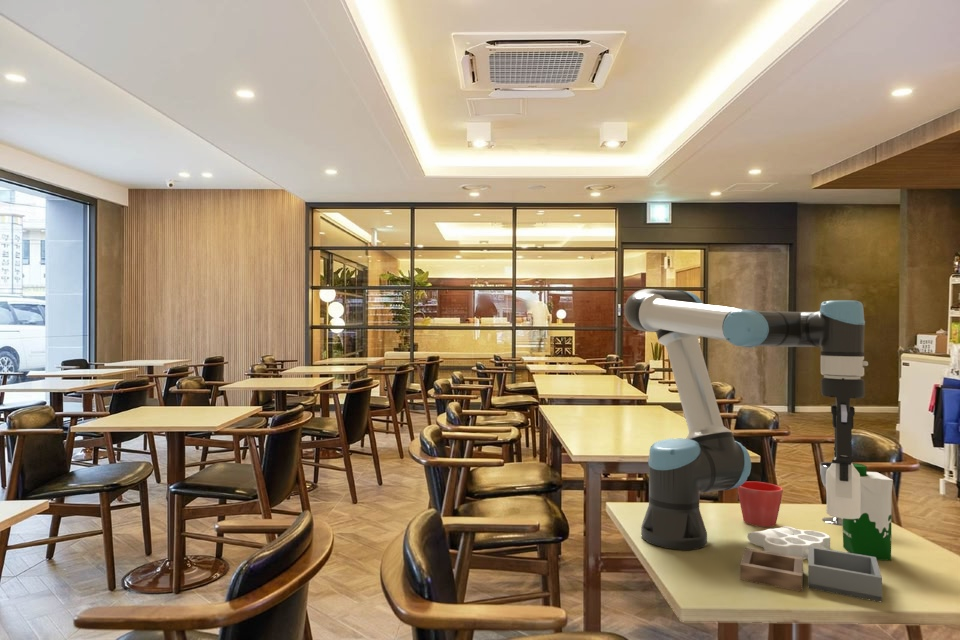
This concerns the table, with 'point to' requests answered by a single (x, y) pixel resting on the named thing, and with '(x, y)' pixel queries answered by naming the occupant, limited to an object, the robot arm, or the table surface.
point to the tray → (844, 573)
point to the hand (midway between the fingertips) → (842, 493)
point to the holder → (772, 569)
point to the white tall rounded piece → (841, 505)
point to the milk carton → (871, 517)
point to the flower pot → (760, 503)
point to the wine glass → (823, 469)
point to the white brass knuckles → (789, 540)
